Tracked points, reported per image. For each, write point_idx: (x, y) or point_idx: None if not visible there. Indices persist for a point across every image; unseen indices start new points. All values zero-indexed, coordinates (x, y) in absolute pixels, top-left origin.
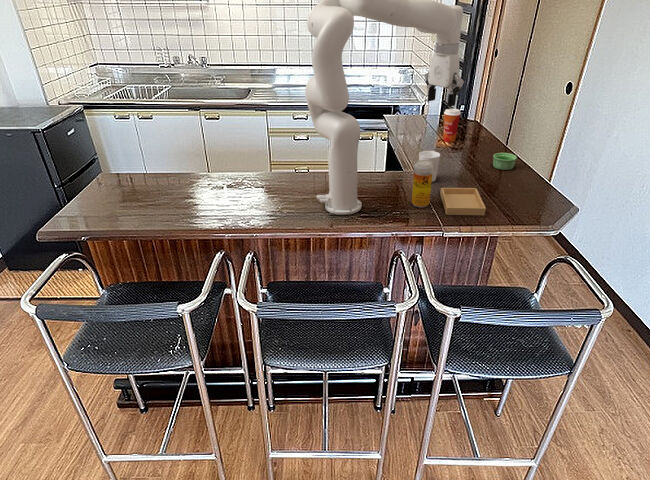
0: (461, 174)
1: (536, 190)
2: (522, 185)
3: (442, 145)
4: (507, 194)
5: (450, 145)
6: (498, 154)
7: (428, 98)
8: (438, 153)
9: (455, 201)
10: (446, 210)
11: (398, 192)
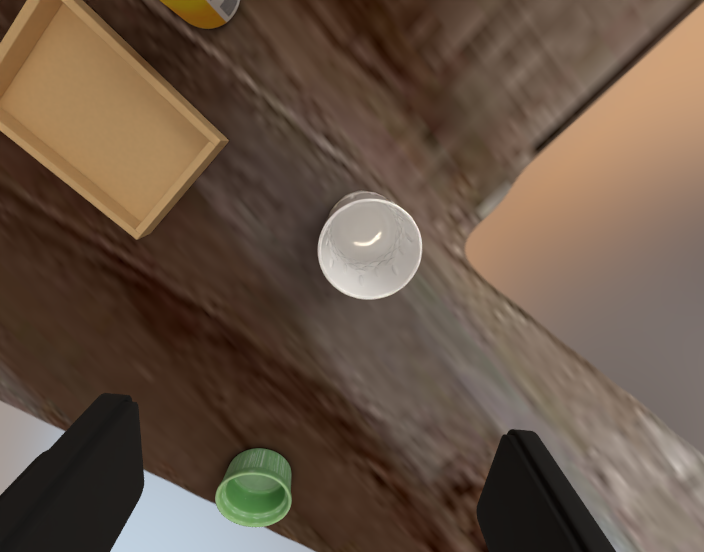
0: (306, 342)
1: (69, 394)
2: None
3: None
4: (93, 311)
5: None
6: (286, 504)
7: (532, 454)
8: (349, 291)
9: (132, 115)
10: None
11: (355, 21)
